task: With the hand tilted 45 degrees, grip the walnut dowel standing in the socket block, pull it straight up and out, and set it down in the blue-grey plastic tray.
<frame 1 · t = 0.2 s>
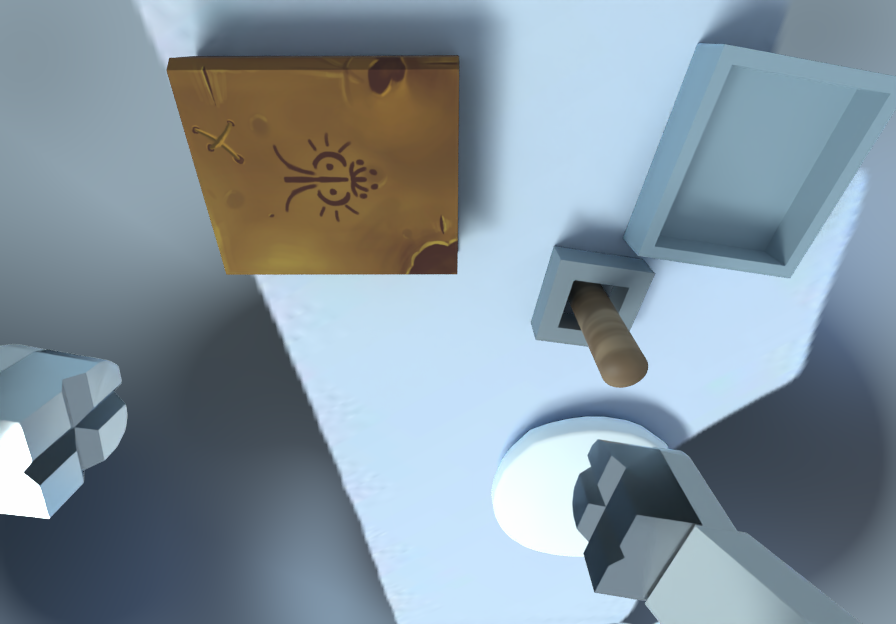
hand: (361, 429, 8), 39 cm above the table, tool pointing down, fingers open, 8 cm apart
diary: (341, 163, 44), on the table
socket block: (584, 292, 51), on the table
tray: (734, 164, 43), on the table
dowel: (584, 292, 51), resting in socket block
plate: (577, 473, 68), on the table
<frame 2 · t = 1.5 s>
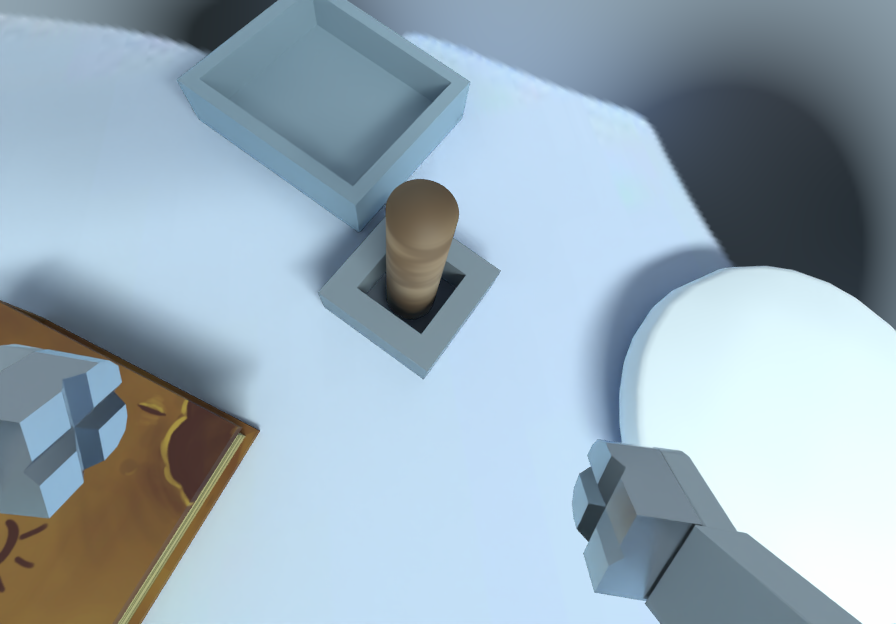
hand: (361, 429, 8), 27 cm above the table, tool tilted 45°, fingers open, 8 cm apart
diary: (43, 525, 30), on the table
socket block: (410, 296, 38), on the table
tray: (336, 118, 42), on the table
dowel: (410, 296, 38), resting in socket block
plate: (762, 426, 39), on the table
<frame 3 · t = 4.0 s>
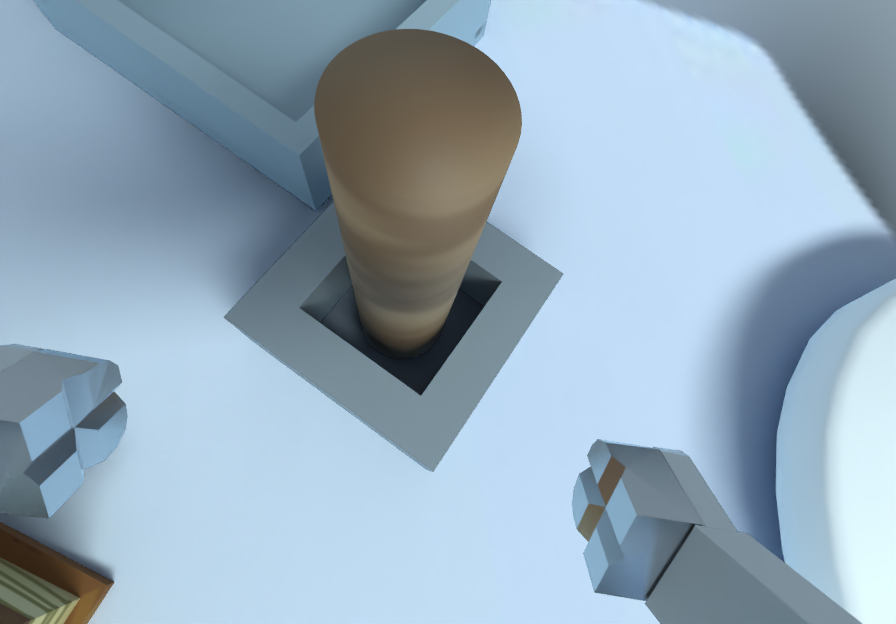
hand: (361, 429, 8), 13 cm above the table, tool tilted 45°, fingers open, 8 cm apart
socket block: (402, 318, 22), on the table
tray: (284, 32, 26), on the table
dowel: (402, 318, 22), resting in socket block
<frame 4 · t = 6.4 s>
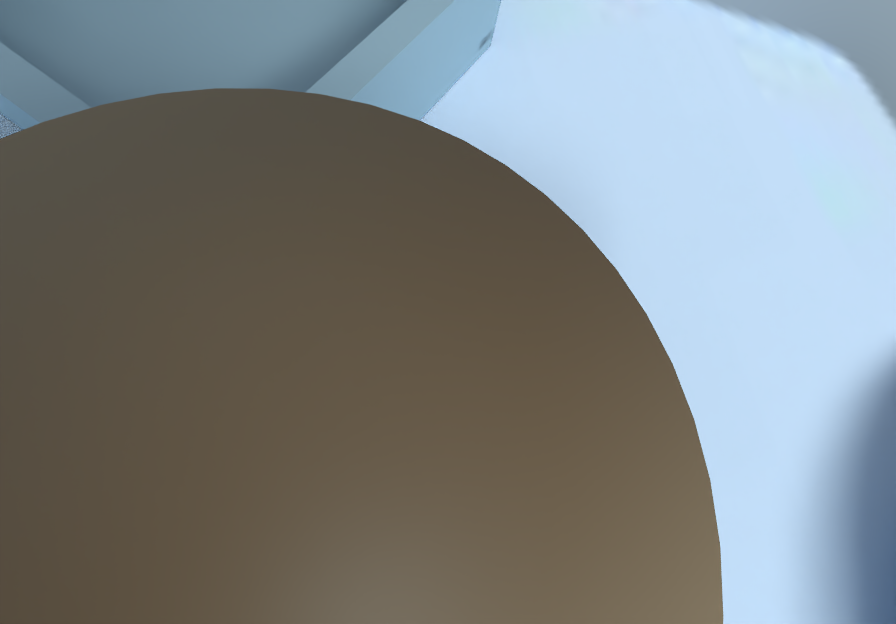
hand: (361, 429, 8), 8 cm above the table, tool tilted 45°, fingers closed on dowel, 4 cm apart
tray: (221, 41, 19), on the table
dowel: (373, 462, 15), resting in socket block, touching gripper
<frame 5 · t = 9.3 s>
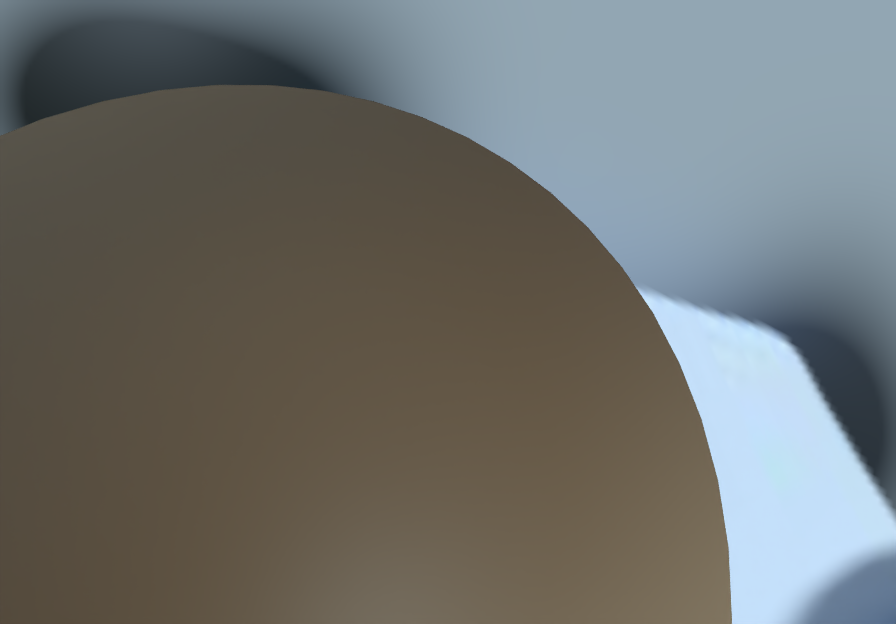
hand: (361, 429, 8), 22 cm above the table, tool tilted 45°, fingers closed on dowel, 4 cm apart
dowel: (373, 462, 15), point 14 cm above the table, touching gripper
when the fingers open (10 cm above the table, at t = 12.4 s): dowel drops 1 cm, resting on tray.
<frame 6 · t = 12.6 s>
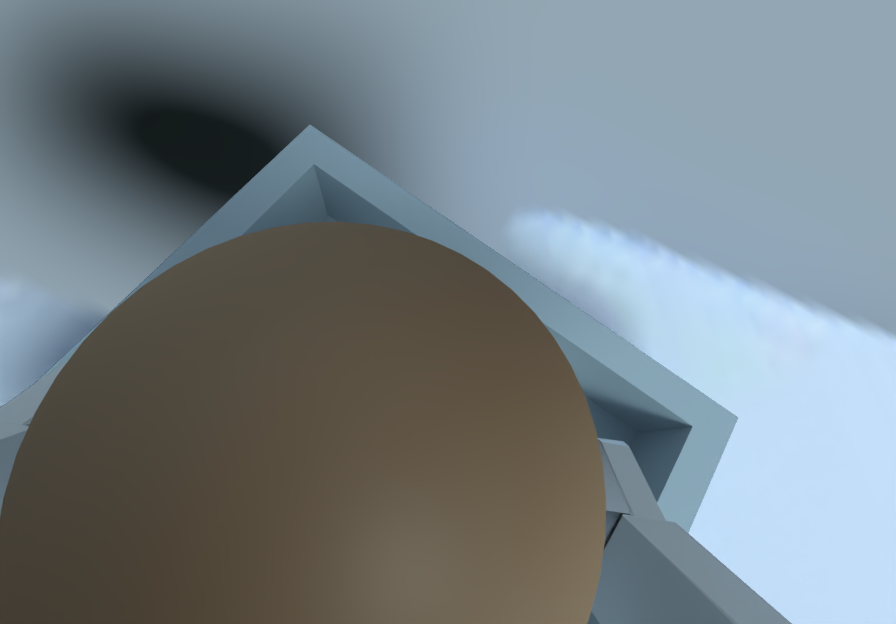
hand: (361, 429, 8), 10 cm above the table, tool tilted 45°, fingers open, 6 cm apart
tray: (375, 461, 17), on the table
dowel: (372, 459, 16), point 1 cm above the table, touching tray
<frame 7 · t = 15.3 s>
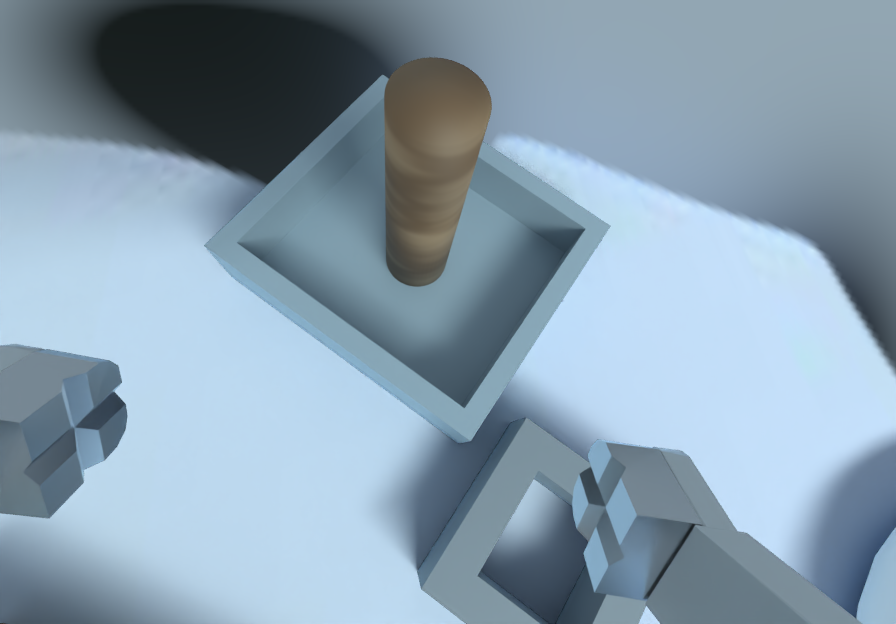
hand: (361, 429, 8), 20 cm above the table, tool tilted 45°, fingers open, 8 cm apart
socket block: (536, 544, 26), on the table
tray: (416, 265, 31), on the table
dowel: (416, 258, 30), point 1 cm above the table, touching tray
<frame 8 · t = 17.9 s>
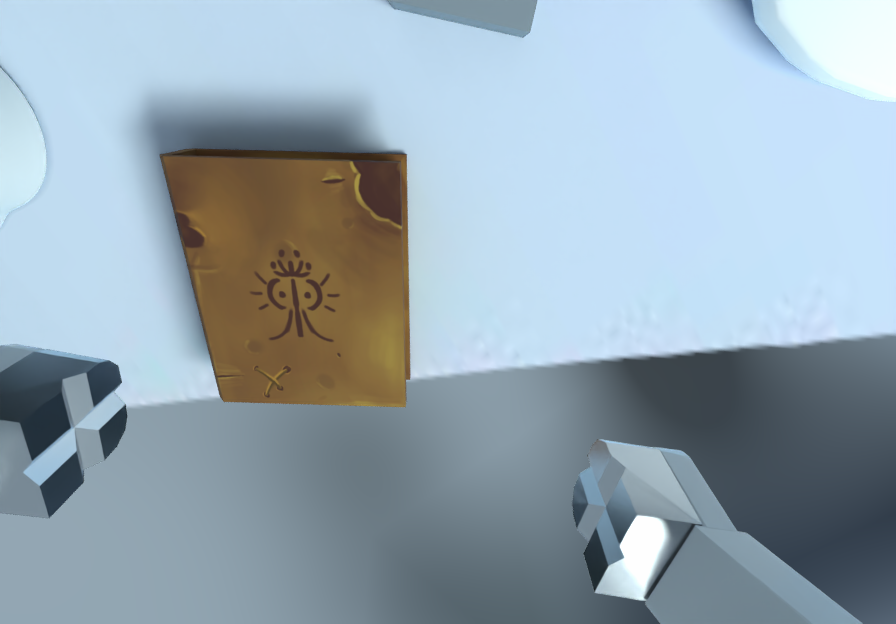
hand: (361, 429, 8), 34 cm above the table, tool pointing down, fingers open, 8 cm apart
diary: (314, 273, 44), on the table
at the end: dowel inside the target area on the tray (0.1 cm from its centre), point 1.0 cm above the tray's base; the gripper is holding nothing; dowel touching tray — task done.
